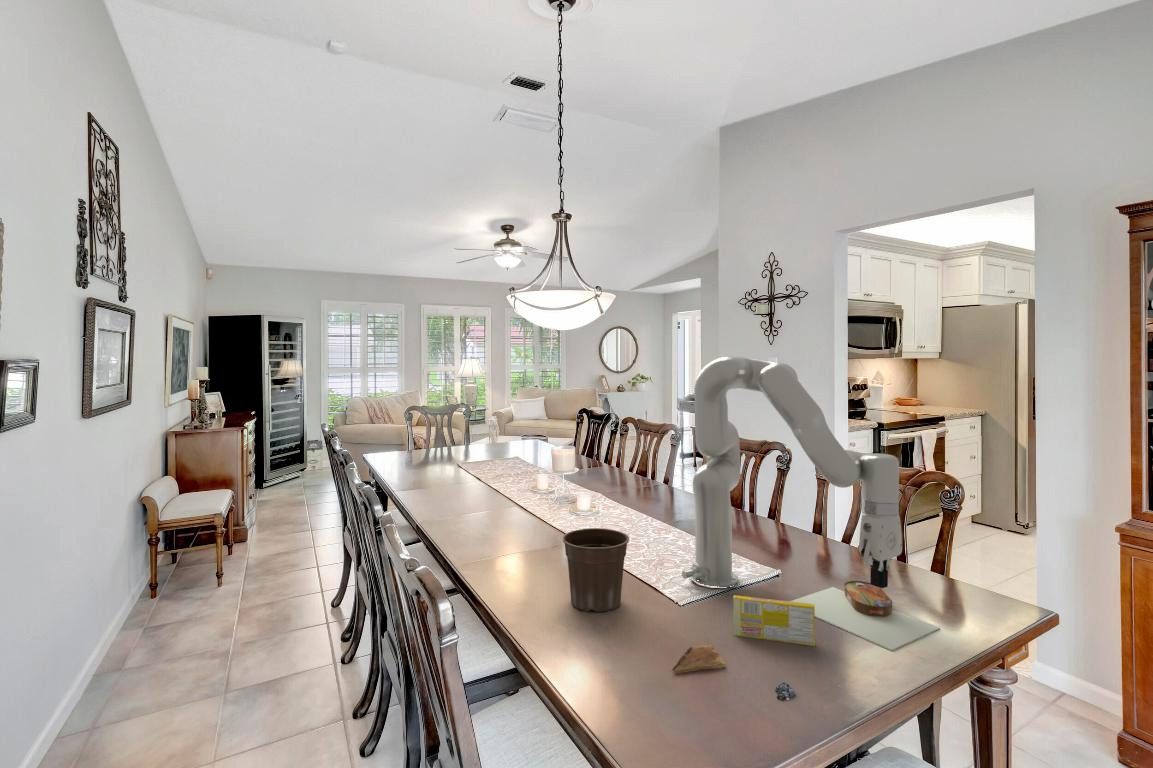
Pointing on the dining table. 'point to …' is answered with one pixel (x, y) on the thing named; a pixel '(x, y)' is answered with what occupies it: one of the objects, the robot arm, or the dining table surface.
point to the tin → (868, 598)
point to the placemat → (867, 620)
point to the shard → (699, 659)
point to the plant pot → (595, 567)
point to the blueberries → (784, 692)
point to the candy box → (774, 620)
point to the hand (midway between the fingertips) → (879, 585)
